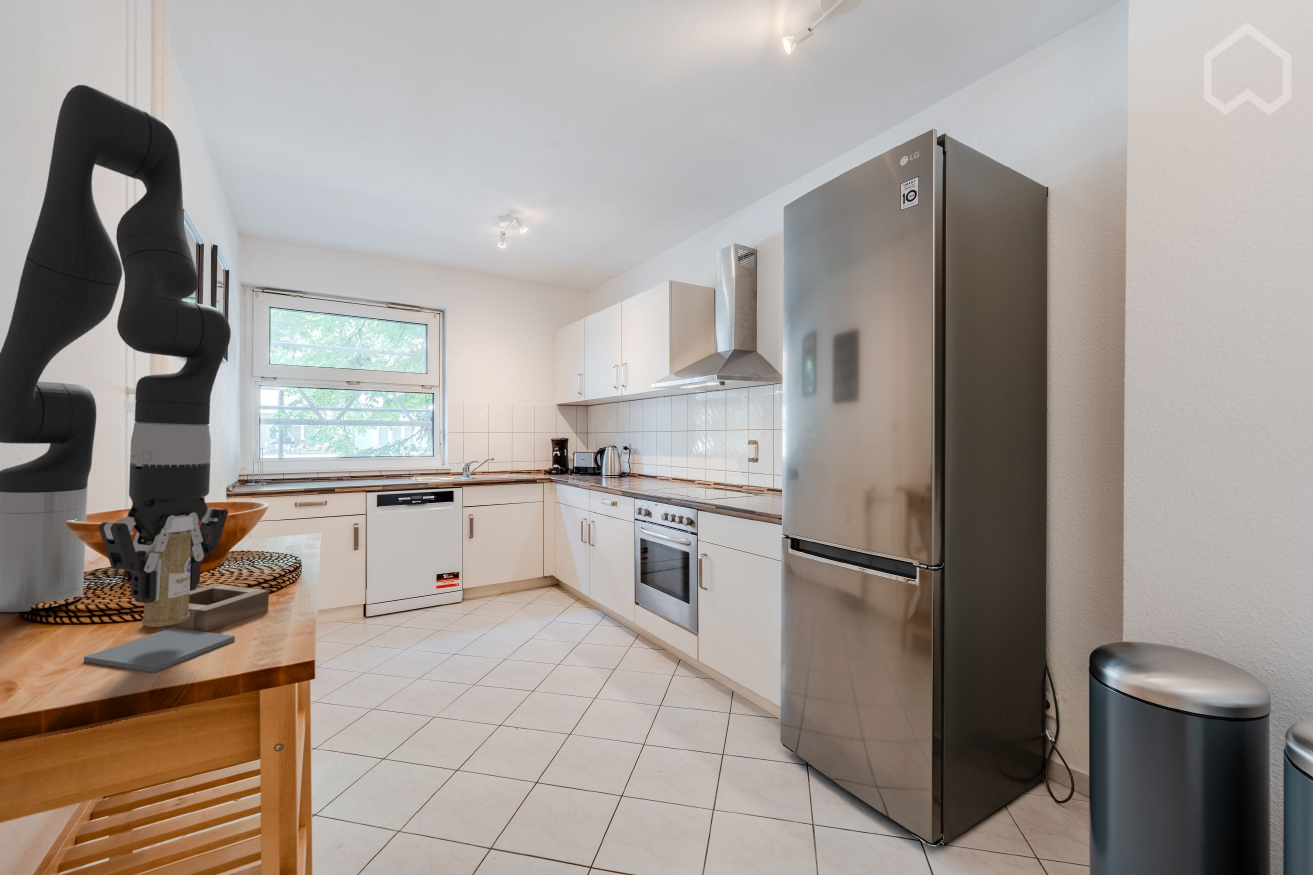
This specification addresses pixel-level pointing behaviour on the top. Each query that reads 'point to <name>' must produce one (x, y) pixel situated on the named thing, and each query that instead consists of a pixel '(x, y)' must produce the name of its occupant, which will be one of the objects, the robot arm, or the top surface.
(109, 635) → the top surface
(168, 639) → the slate mat
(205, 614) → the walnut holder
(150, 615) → the sprinkles bottle
